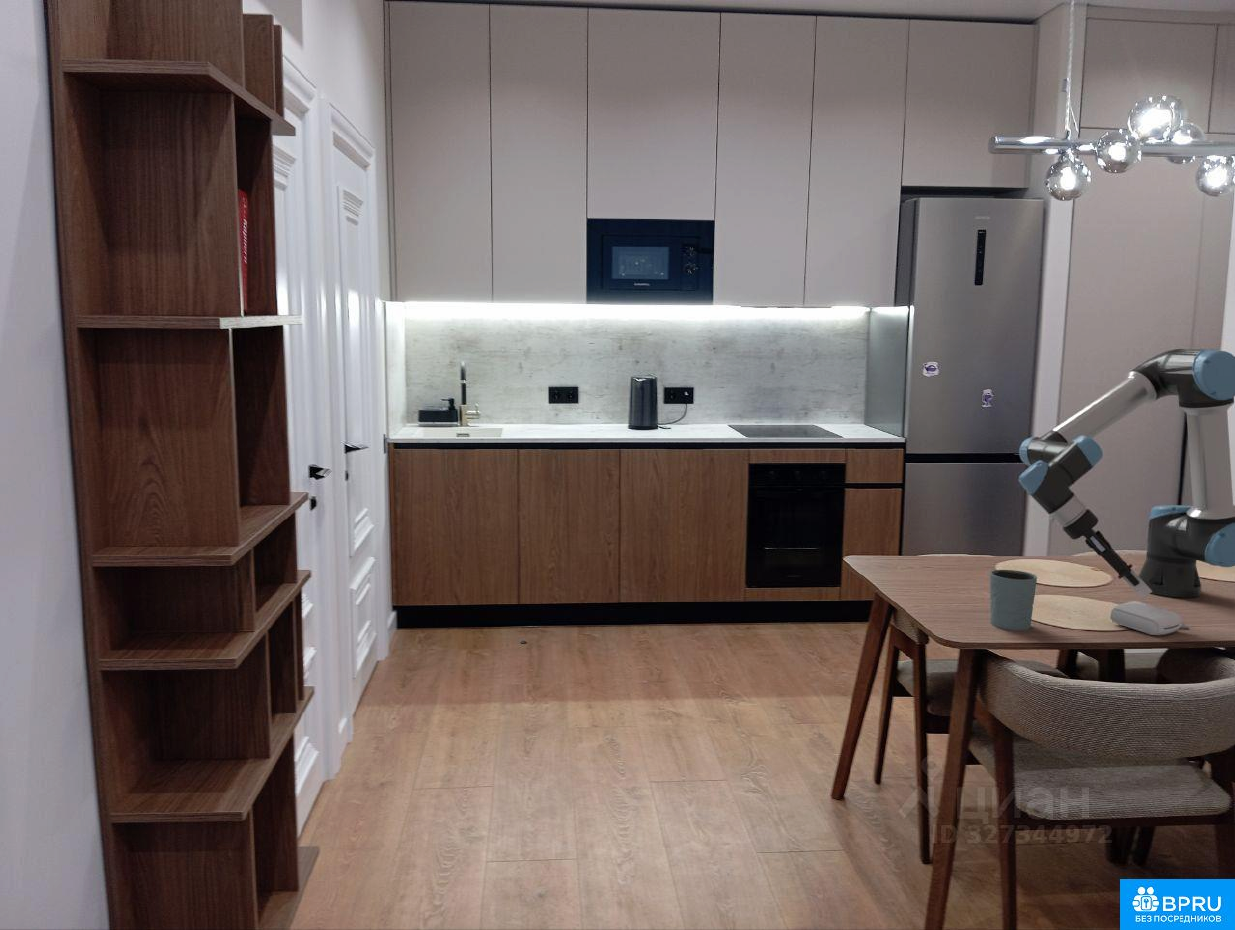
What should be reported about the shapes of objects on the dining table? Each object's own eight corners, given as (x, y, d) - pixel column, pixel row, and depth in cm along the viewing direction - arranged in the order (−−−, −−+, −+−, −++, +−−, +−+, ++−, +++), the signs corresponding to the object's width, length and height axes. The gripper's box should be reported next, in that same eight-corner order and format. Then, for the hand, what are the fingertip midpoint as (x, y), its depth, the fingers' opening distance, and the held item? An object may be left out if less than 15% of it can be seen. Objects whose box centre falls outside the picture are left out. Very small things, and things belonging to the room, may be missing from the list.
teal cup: (1009, 633, 219) (1013, 581, 218) (976, 620, 229) (980, 570, 227) (1043, 628, 223) (1047, 577, 222) (1009, 616, 233) (1013, 567, 231)
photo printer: (1136, 598, 232) (1188, 614, 222) (1134, 615, 233) (1186, 632, 223) (1110, 605, 227) (1163, 622, 217) (1108, 623, 228) (1160, 640, 217)
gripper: (1059, 523, 240) (1129, 597, 236) (1062, 532, 228) (1136, 610, 224) (1085, 503, 237) (1156, 578, 233) (1089, 512, 225) (1165, 591, 221)
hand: (1146, 594), depth 229 cm, fingers closed
